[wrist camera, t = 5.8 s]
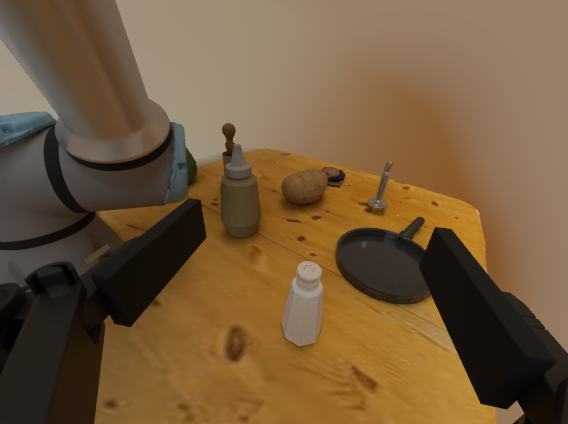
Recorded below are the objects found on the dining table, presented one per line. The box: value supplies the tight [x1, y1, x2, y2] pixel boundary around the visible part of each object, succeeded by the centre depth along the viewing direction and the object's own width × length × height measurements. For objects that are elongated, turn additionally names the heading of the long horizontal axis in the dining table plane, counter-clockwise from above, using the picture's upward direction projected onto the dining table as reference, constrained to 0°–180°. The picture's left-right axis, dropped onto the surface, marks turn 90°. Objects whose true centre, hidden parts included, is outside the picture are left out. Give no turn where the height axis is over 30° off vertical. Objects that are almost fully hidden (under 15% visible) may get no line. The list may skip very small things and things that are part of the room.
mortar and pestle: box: [222, 123, 236, 175], centre depth 58 cm, size 7×6×18 cm
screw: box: [367, 161, 393, 213], centre depth 55 cm, size 13×5×5 cm
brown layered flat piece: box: [322, 167, 345, 186], centre depth 73 cm, size 11×8×4 cm
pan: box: [335, 228, 431, 304], centre depth 42 cm, size 17×17×2 cm
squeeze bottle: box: [221, 144, 261, 238], centre depth 44 cm, size 8×8×18 cm
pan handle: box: [397, 217, 425, 243], centre depth 50 cm, size 11×2×2 cm, turn 135°
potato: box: [282, 170, 328, 204], centre depth 59 cm, size 10×14×8 cm
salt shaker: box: [281, 261, 323, 347], centre depth 29 cm, size 5×5×11 cm
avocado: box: [186, 148, 197, 183], centre depth 64 cm, size 8×8×12 cm
